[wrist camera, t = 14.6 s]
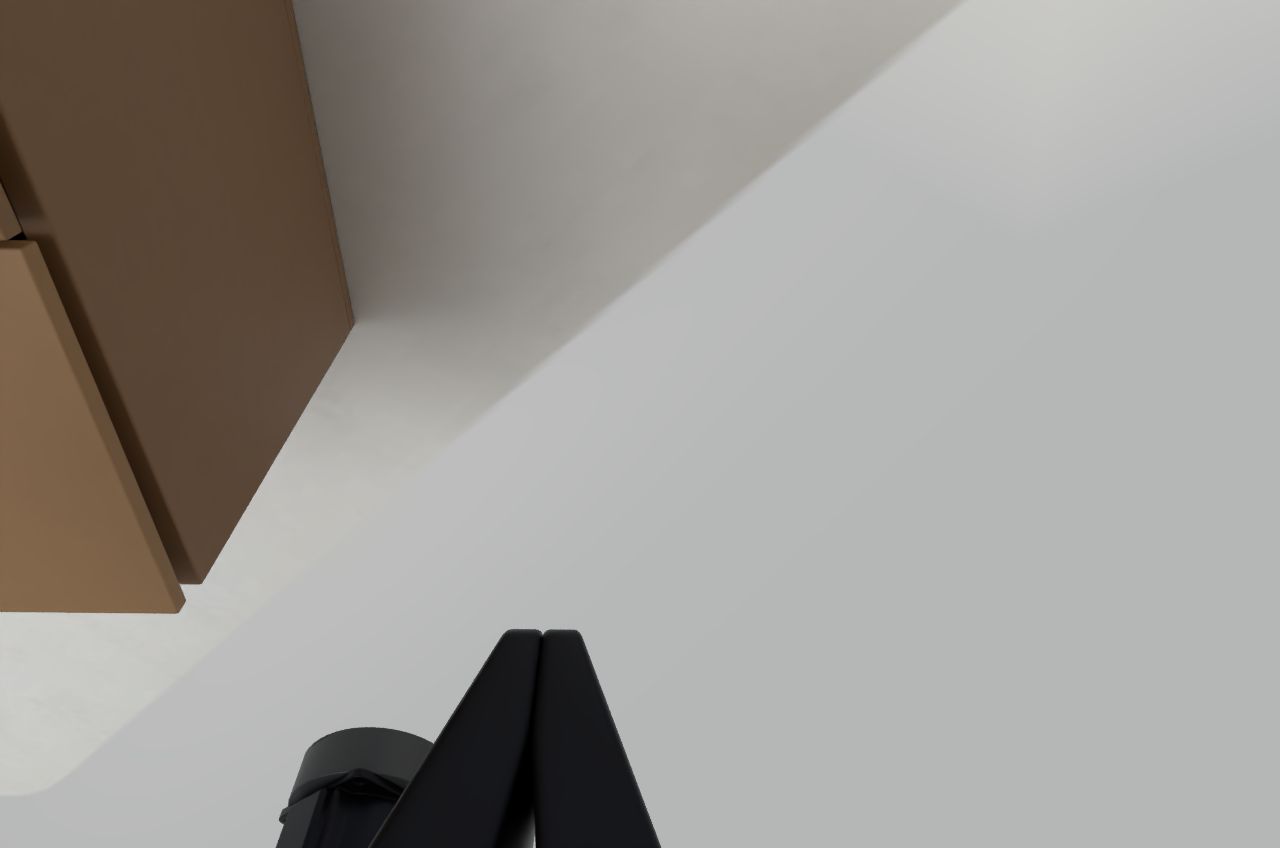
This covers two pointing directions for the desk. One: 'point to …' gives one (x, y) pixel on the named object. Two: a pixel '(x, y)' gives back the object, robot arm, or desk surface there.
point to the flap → (65, 468)
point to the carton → (178, 234)
